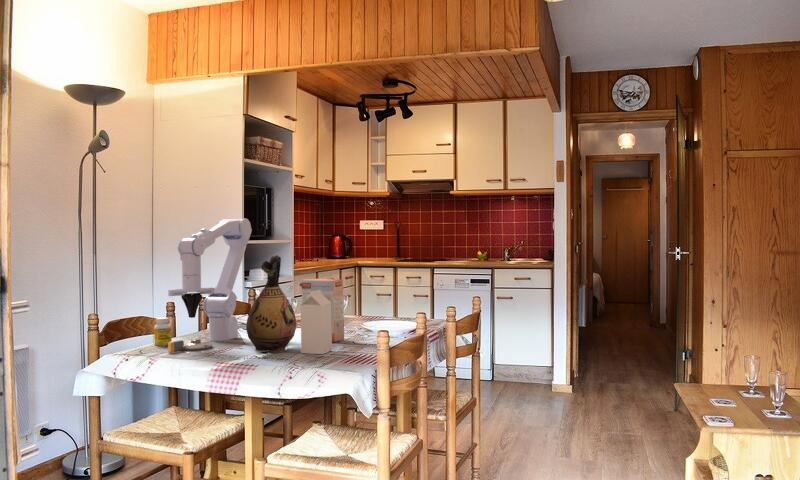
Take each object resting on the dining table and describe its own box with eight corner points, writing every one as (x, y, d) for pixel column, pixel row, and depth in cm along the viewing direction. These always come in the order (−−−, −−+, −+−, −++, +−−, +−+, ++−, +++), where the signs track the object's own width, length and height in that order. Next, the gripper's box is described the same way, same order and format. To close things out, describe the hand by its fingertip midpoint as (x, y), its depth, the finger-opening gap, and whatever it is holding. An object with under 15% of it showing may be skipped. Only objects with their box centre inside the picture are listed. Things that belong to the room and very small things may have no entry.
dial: (199, 343, 220) (199, 334, 220) (218, 346, 214) (218, 336, 214) (160, 350, 208) (159, 340, 208) (179, 354, 202) (179, 343, 202)
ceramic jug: (290, 355, 203) (288, 256, 202) (240, 355, 204) (238, 257, 203) (302, 345, 220) (300, 254, 219) (256, 345, 221) (254, 254, 220)
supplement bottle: (169, 344, 225) (168, 316, 225) (173, 347, 221) (172, 318, 220) (152, 346, 222) (151, 318, 222) (156, 349, 218) (155, 319, 217)
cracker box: (345, 340, 228) (344, 278, 227) (334, 343, 223) (332, 280, 222) (313, 337, 235) (312, 277, 235) (302, 339, 230) (300, 279, 230)
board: (196, 343, 226) (196, 340, 226) (241, 348, 217) (241, 344, 217) (148, 354, 209) (148, 350, 209) (195, 359, 199) (195, 355, 199)
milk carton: (332, 350, 209) (330, 290, 209) (322, 354, 203) (321, 292, 202) (311, 349, 212) (310, 289, 211) (301, 353, 205) (299, 292, 204)
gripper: (208, 273, 223) (208, 314, 223) (164, 275, 214) (165, 318, 214) (216, 274, 217) (217, 316, 217) (172, 276, 208) (173, 320, 208)
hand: (192, 317), depth 215 cm, fingers closed
